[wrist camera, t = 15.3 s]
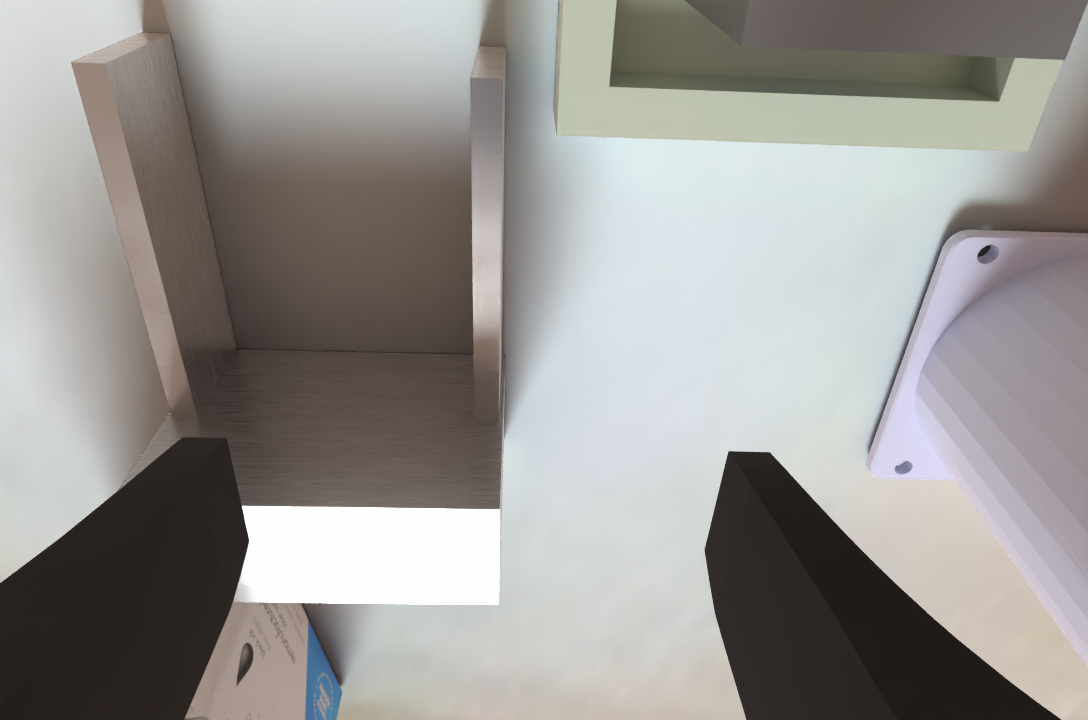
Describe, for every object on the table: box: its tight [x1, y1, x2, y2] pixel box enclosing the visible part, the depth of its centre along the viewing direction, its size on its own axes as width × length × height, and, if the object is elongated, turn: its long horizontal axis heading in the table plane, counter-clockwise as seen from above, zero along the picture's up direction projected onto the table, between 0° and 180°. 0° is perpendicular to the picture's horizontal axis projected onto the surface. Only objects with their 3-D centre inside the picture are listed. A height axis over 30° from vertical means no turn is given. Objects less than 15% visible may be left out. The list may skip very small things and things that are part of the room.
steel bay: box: [71, 32, 506, 605], centre depth 17 cm, size 8×11×6 cm
